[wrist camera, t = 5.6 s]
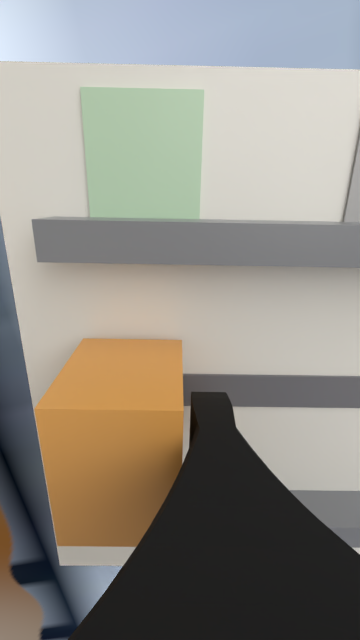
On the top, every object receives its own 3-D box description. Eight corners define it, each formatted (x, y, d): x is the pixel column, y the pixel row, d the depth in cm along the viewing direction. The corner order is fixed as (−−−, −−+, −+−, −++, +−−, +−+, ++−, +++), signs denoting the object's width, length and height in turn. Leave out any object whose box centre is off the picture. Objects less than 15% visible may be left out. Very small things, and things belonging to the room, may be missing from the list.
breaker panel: (350, 515, 16) (401, 608, 13) (77, 512, 16) (46, 606, 12) (467, 103, 10) (639, 46, 6) (21, 93, 10) (-73, 28, 6)
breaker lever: (179, 445, 11) (180, 546, 8) (93, 444, 11) (57, 546, 8) (181, 340, 10) (183, 410, 6) (83, 338, 10) (34, 409, 6)
